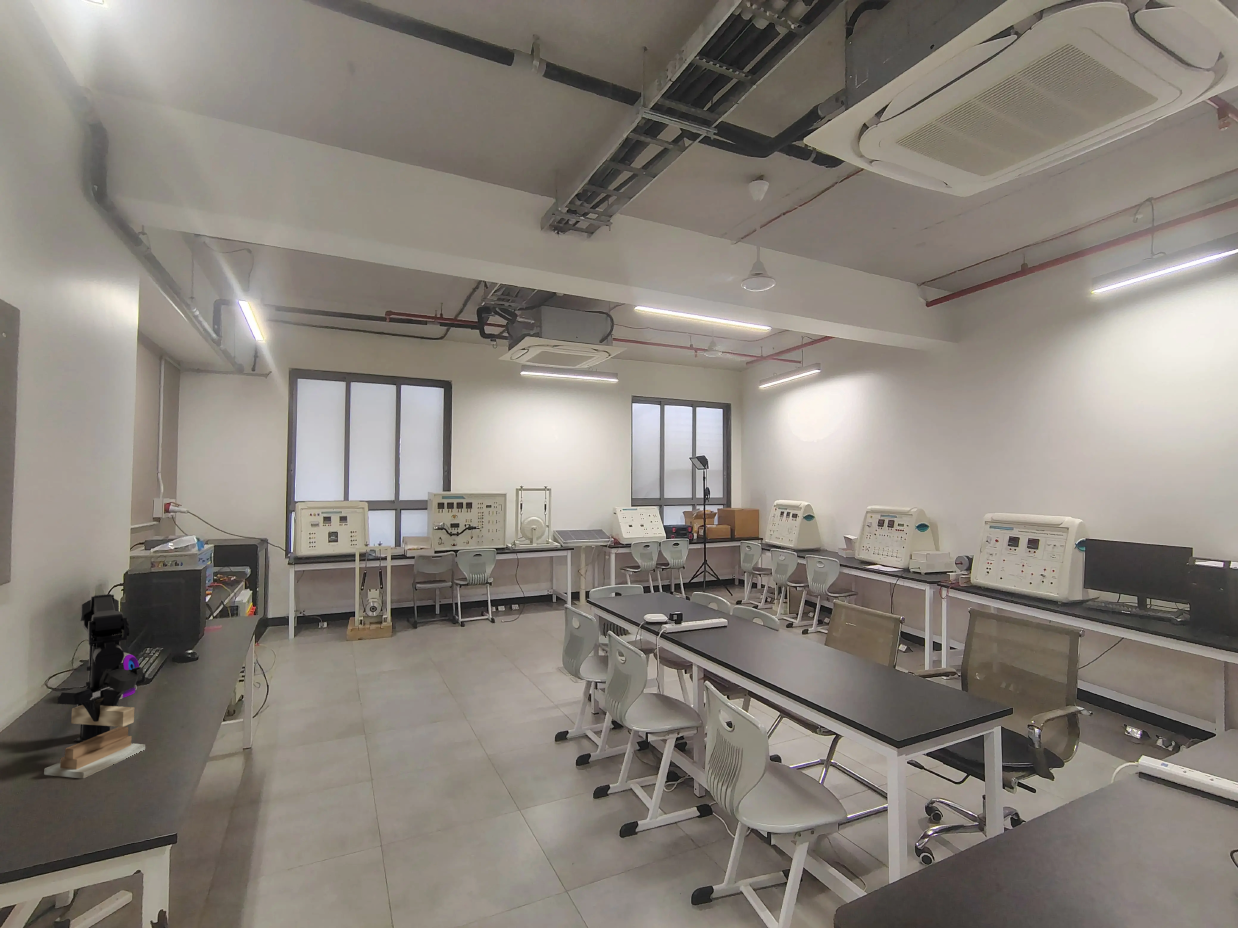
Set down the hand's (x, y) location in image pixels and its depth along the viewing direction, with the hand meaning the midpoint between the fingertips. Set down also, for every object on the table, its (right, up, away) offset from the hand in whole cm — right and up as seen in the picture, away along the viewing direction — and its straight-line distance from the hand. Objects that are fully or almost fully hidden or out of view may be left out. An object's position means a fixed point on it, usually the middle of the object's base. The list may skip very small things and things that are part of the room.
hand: (102, 718), depth 153 cm
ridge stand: (0, -11, -1) cm, 11 cm away
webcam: (-40, -13, +47) cm, 63 cm away
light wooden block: (0, -1, 0) cm, 1 cm away
